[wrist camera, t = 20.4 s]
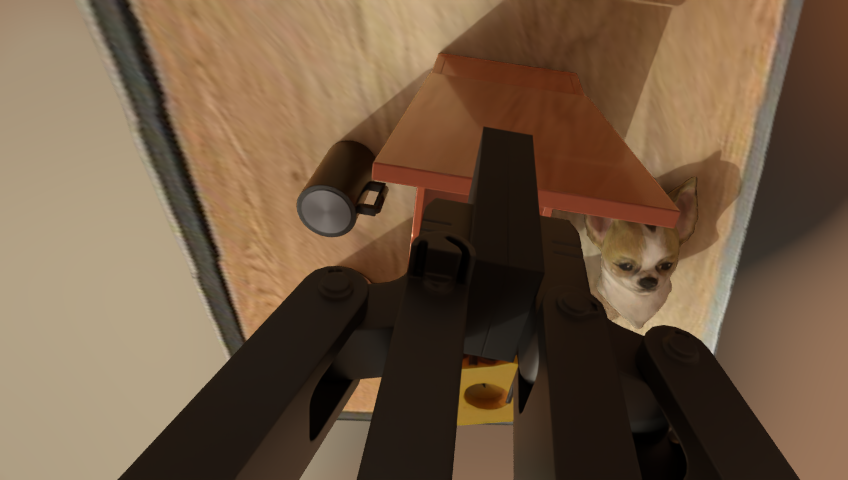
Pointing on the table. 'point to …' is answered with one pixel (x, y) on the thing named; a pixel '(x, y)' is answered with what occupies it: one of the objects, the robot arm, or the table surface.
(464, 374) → the candle
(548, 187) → the lid
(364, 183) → the silver-capped dark cylinder
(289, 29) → the table surface
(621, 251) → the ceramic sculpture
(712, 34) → the table surface
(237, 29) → the table surface
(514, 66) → the reddish-brown box
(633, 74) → the table surface
